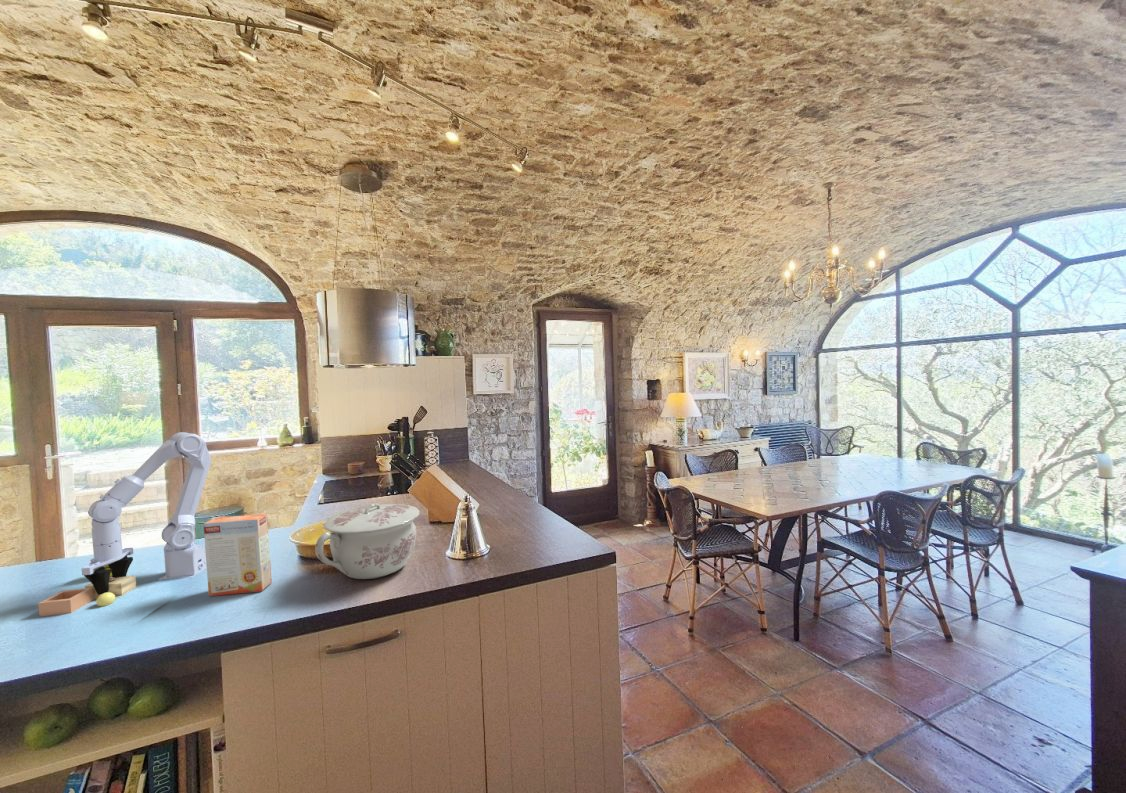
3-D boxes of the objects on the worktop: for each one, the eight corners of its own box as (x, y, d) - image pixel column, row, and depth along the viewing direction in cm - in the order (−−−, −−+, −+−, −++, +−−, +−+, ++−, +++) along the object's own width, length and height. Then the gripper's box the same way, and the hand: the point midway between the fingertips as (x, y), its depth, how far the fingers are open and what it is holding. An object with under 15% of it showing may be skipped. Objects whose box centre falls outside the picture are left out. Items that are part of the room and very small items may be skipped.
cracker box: (272, 582, 134) (268, 512, 133) (262, 592, 128) (257, 519, 127) (221, 587, 132) (216, 516, 131) (207, 597, 126) (202, 522, 125)
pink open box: (93, 601, 126) (92, 587, 125) (71, 614, 119) (70, 599, 119) (63, 605, 124) (62, 590, 124) (39, 618, 118) (38, 603, 117)
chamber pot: (422, 547, 158) (419, 488, 157) (423, 581, 132) (419, 510, 131) (332, 560, 150) (329, 497, 149) (315, 598, 123) (310, 523, 122)
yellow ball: (119, 602, 125) (118, 589, 125) (108, 608, 121) (107, 595, 121) (104, 603, 125) (103, 590, 124) (93, 610, 121) (91, 596, 121)
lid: (136, 587, 132) (135, 573, 132) (122, 595, 128) (120, 581, 127) (101, 590, 131) (100, 576, 131) (85, 598, 126) (84, 584, 126)
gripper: (113, 534, 135) (116, 579, 136) (67, 553, 121) (71, 603, 122) (139, 532, 136) (143, 577, 137) (96, 550, 122) (101, 600, 123)
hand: (111, 589), depth 129 cm, fingers closed on lid, 5 cm apart
